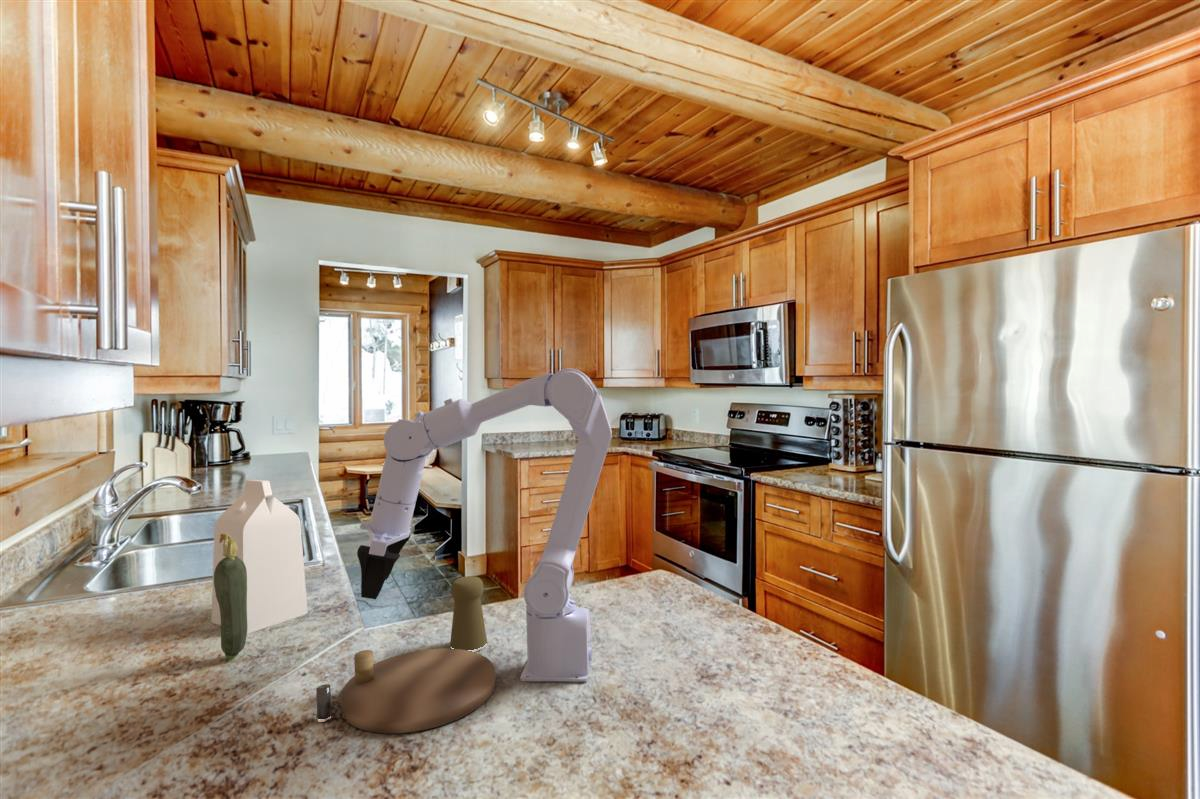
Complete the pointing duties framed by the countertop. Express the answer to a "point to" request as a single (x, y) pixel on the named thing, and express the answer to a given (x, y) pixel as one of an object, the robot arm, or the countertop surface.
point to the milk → (264, 556)
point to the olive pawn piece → (467, 614)
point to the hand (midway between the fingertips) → (375, 587)
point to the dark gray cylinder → (323, 701)
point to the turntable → (416, 689)
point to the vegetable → (231, 598)
